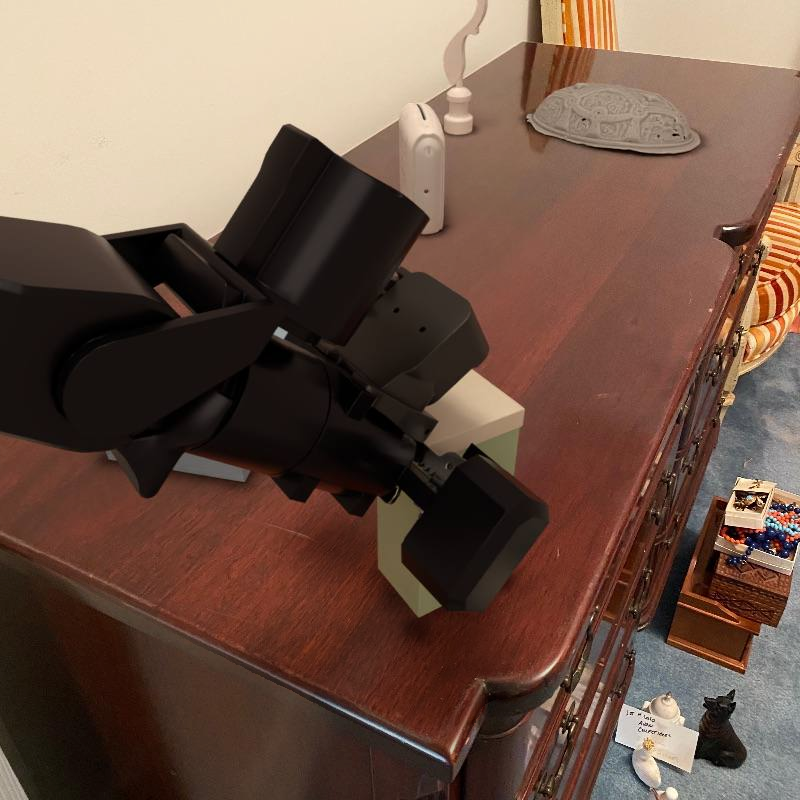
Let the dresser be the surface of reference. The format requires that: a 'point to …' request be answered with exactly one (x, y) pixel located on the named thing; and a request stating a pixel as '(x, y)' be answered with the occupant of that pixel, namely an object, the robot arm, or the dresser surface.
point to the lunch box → (457, 428)
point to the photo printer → (423, 161)
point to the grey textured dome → (614, 119)
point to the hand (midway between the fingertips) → (464, 479)
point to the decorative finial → (460, 75)
